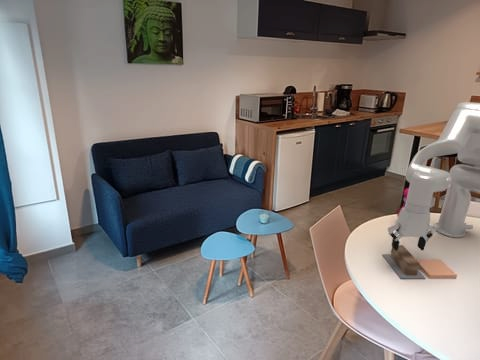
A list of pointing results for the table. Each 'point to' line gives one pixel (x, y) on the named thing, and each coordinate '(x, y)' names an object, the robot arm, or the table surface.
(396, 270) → the mat
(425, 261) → the tile
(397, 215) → the pepper mill
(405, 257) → the block
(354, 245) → the table surface
